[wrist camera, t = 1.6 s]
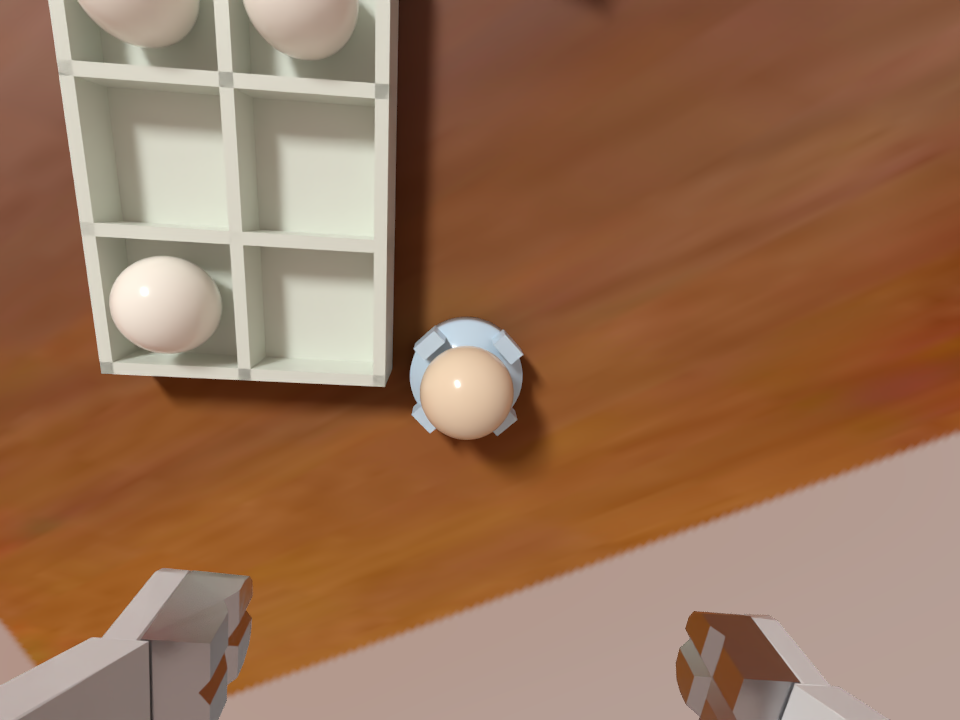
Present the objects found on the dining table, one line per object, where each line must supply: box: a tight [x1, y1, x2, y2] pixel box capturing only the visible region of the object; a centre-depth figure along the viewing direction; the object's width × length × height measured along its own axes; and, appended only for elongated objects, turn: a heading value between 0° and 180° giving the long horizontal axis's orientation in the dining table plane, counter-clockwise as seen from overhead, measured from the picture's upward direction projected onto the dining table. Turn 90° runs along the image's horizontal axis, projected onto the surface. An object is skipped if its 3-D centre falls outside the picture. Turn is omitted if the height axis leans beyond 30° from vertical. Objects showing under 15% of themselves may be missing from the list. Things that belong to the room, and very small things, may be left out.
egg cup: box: [410, 317, 523, 436], centre depth 29 cm, size 6×6×3 cm
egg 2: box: [109, 256, 222, 354], centre depth 25 cm, size 5×5×5 cm
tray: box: [48, 0, 399, 387], centre depth 25 cm, size 14×20×3 cm
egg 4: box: [420, 346, 514, 440], centre depth 26 cm, size 5×5×5 cm
